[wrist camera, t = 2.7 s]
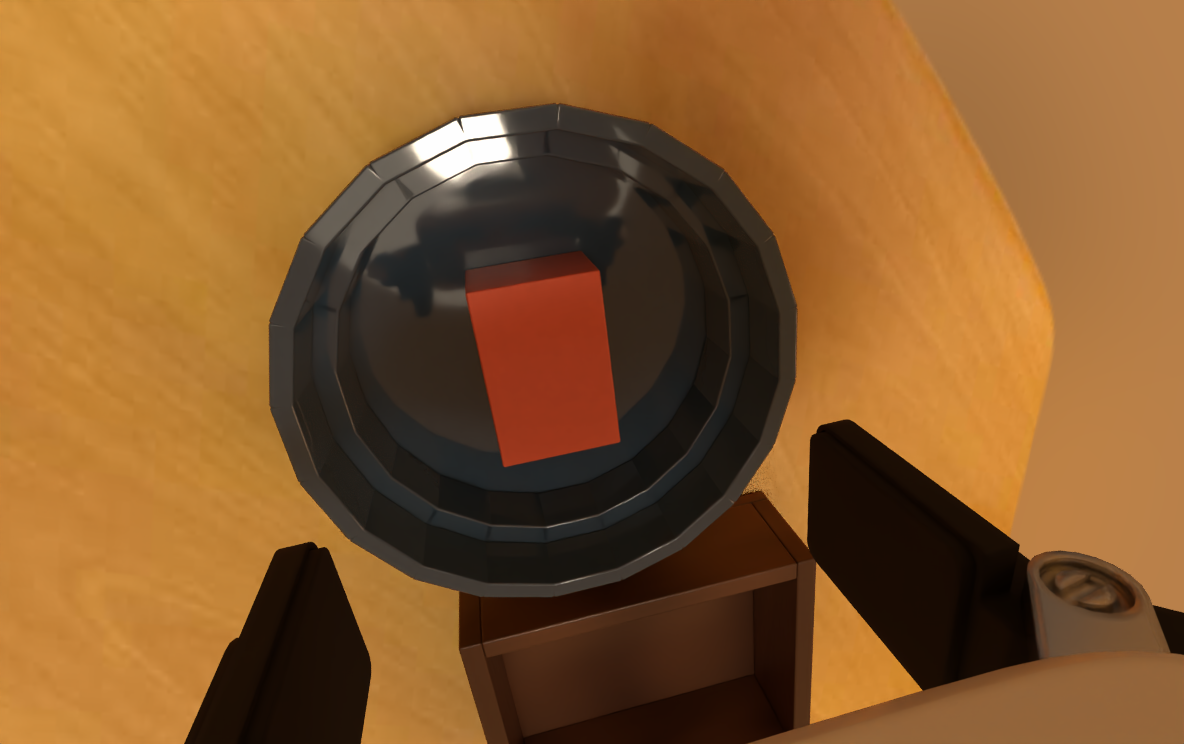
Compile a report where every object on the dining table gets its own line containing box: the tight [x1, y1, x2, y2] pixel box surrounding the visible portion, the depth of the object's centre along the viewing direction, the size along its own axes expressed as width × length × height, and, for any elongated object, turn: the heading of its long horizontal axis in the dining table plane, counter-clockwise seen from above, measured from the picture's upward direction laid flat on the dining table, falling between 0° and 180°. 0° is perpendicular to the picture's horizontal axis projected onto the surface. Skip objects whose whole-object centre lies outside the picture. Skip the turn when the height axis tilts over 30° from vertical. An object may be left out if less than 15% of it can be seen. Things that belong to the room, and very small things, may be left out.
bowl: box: [269, 103, 797, 597], centre depth 20 cm, size 15×15×5 cm
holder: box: [459, 492, 816, 744], centre depth 26 cm, size 14×12×5 cm
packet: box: [465, 251, 620, 467], centre depth 20 cm, size 4×6×3 cm, turn 7°
